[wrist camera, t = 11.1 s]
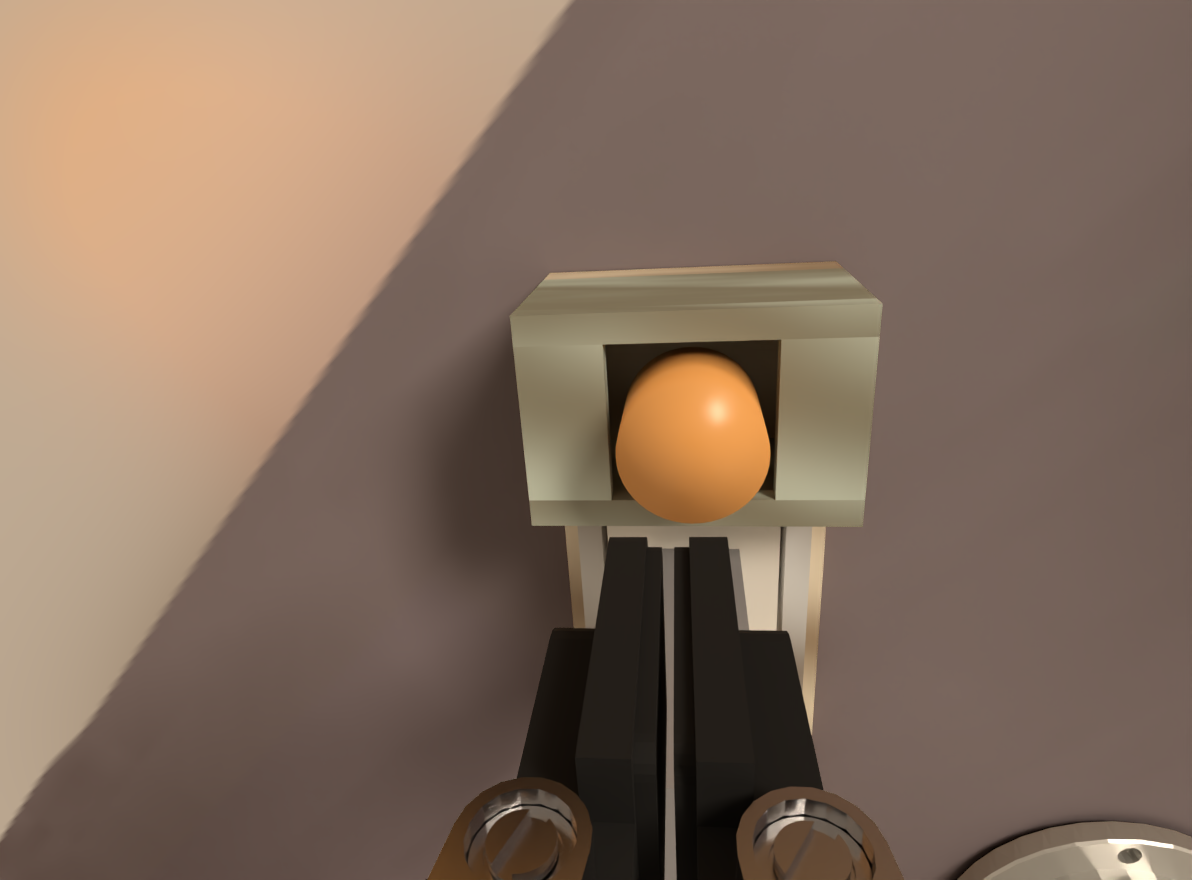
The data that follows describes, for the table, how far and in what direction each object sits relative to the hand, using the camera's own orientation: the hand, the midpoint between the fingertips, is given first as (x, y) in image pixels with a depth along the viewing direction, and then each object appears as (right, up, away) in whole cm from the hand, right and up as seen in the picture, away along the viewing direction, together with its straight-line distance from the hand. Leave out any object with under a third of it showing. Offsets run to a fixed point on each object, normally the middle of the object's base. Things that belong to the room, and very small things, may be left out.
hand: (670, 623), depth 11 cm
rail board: (+3, -4, +18) cm, 18 cm away
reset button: (+2, +3, +9) cm, 10 cm away
